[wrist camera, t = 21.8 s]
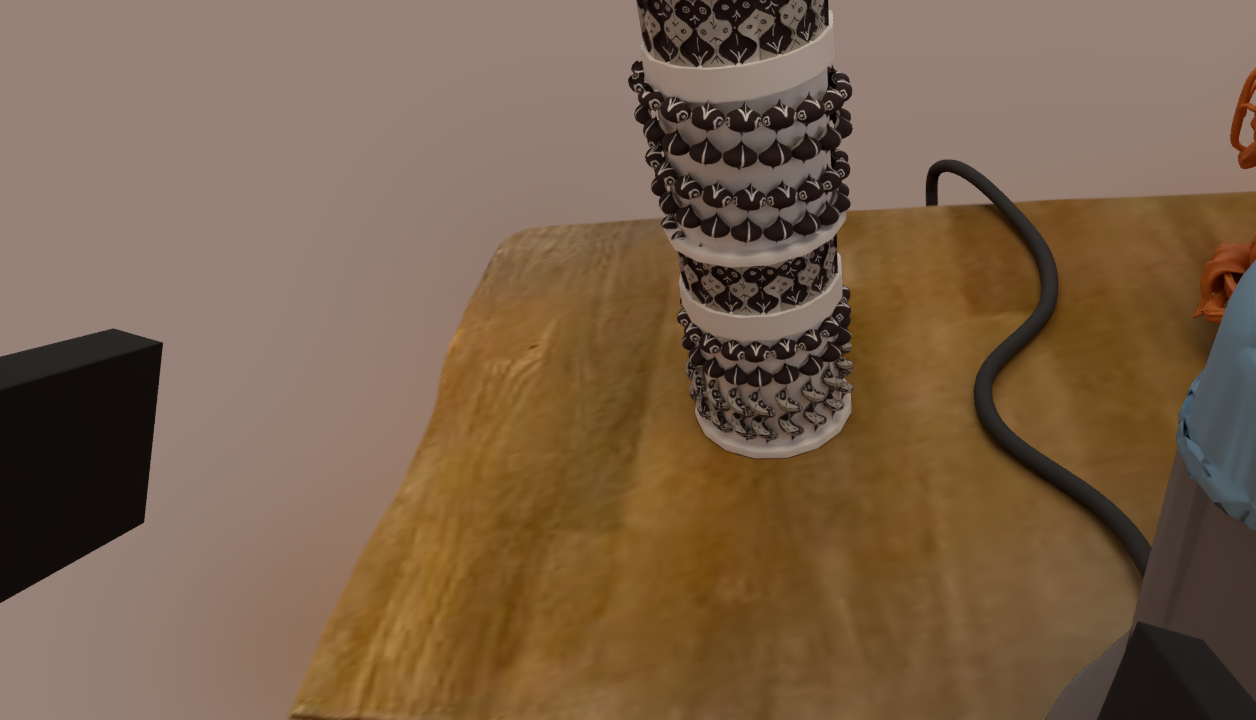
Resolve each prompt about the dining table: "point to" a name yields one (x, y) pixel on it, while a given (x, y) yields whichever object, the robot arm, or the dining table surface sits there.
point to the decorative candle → (753, 211)
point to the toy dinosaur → (1228, 257)
